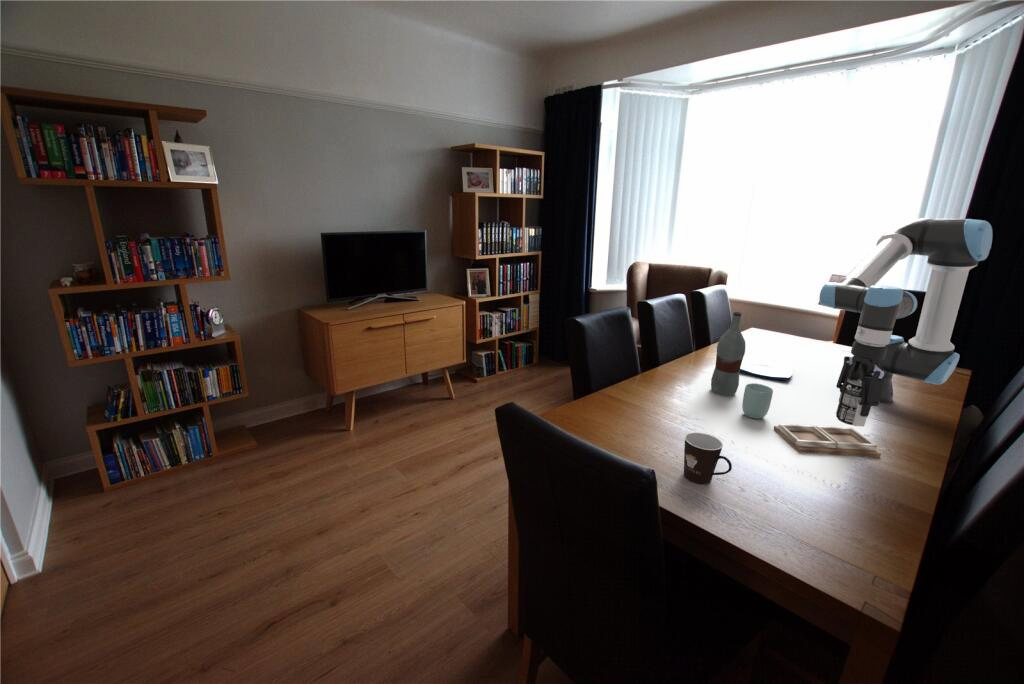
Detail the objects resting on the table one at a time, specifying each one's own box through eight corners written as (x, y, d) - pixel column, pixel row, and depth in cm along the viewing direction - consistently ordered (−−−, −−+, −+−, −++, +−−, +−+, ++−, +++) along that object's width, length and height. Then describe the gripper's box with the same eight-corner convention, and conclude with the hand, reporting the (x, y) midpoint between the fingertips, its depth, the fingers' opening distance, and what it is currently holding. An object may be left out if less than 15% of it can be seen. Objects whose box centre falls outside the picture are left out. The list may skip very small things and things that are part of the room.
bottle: (703, 388, 171) (717, 310, 162) (722, 386, 174) (736, 309, 166) (724, 398, 162) (739, 316, 154) (742, 395, 166) (758, 314, 157)
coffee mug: (673, 467, 117) (678, 432, 114) (705, 467, 118) (711, 432, 115) (694, 495, 106) (701, 457, 103) (729, 494, 107) (737, 456, 104)
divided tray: (846, 433, 140) (848, 425, 139) (879, 457, 126) (882, 448, 125) (773, 429, 140) (775, 421, 140) (798, 452, 127) (801, 444, 126)
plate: (792, 371, 196) (793, 365, 195) (790, 385, 179) (791, 378, 178) (740, 361, 206) (741, 355, 205) (733, 373, 189) (734, 367, 189)
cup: (756, 423, 144) (762, 393, 141) (735, 413, 151) (740, 385, 148) (772, 419, 148) (778, 390, 145) (750, 409, 154) (756, 381, 151)
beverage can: (856, 417, 134) (866, 379, 130) (868, 427, 127) (879, 387, 124) (831, 415, 135) (841, 377, 131) (841, 424, 129) (852, 385, 125)
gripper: (834, 332, 134) (816, 405, 140) (883, 352, 115) (859, 435, 122) (860, 334, 134) (840, 406, 140) (913, 354, 115) (888, 436, 121)
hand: (849, 419), depth 131 cm, fingers closed on beverage can, 7 cm apart
